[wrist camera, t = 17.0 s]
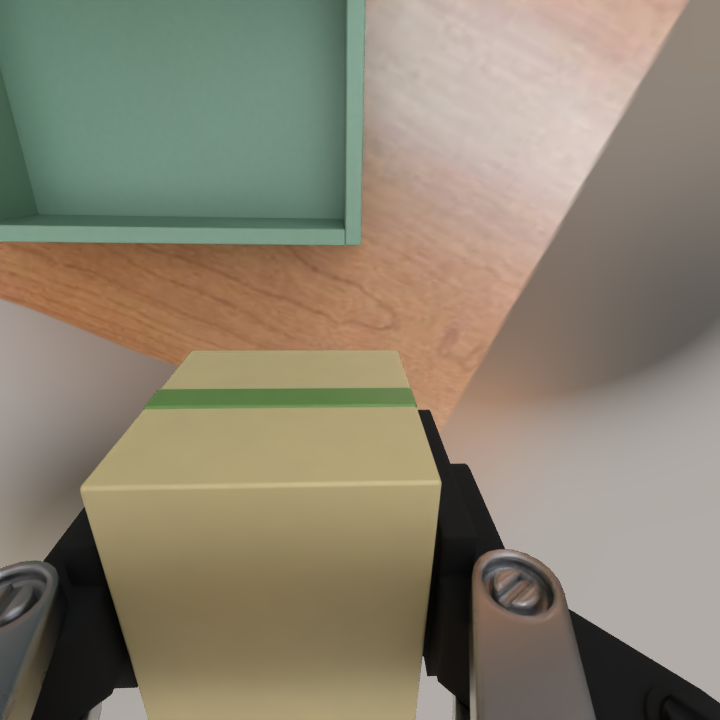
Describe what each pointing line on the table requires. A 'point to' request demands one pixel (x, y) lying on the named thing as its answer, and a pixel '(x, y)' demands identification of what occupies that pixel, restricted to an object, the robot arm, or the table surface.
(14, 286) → the table surface
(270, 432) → the yellow block
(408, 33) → the table surface
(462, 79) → the table surface
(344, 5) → the box
